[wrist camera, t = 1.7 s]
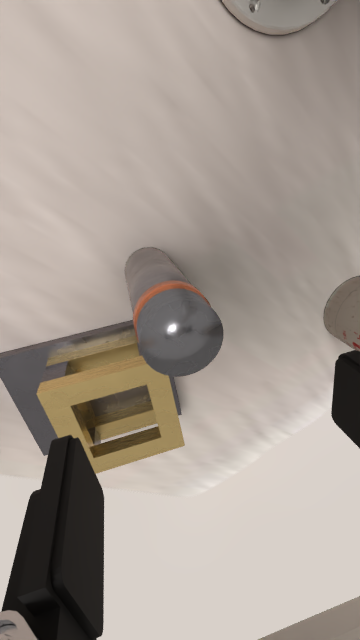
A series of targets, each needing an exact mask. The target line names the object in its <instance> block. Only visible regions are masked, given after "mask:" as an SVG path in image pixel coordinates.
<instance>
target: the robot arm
mask: <svg viewBox="0 0 360 640" xmlns="http://www.w3.org/2000/svg"><path fill="white" fill-rule="evenodd" d="M336 1H337V0H222V2H223V3H224V5H225V6H226V7H227V9H228V10H229V11H230V12H231V13H232V14H233V15H234V16H235V17H236V18H237V19H239V20H240V21H241V22H242V23H244V24H245V25H247V26H249V27H250V28H252V29H254V30H256V31H259V32H263V33H266V34H270V35H284V34H288V33H292V32H296V31H299V30H301V29H302V28H304V27H306V26H308V25H310V24H311V23H313V22H314V21H315V20H317V19H318V18H319V17H320V16H322V15H323V14H324V13H326V12H327V10H328V9H329V8H330V7H331V6H332V5H333V4H334V3H335V2H336ZM249 7H250V8H251V9H252V12H251V10H250V8H249ZM332 418H333V420H334V422H335V423H336V425H338V427H339V428H341V430H342V431H343V432H344V433H345V434H346V435H347V436H348V437H349V438H350V439H351V440H352V441H353V442H354V443H355V444H356V445H357V446H358V447H359V448H360V351H358V350H354V351H351V352H347V353H344V354H341V355H340V356H339V358H338V360H337V361H336V363H335V376H334V388H333V401H332ZM103 575H104V495H103V490H102V488H101V485H100V483H99V481H98V479H97V477H96V474H95V472H94V470H93V468H92V465H91V463H90V461H89V459H88V457H87V454H86V452H85V450H84V448H83V445H82V443H81V441H80V439H79V438H78V437H77V438H73V436H72V435H67V436H64V437H61V438H57V439H54V440H52V441H51V444H50V449H49V453H48V458H47V463H46V467H45V472H44V477H43V481H42V486H41V489H40V490H36V491H34V492H33V493H32V494H31V496H30V499H29V502H28V506H27V510H26V514H25V518H24V522H23V526H22V530H21V534H20V538H19V543H18V546H17V550H16V555H15V559H14V563H13V567H12V571H11V575H10V579H9V583H8V587H7V591H6V595H5V599H4V603H3V607H2V611H1V612H0V640H96V638H97V637H100V636H101V635H102V632H103V589H104V588H103V587H104V585H103V582H104V581H103V580H104V576H103ZM259 640H360V596H359V597H357V598H354V599H352V600H350V601H347V602H345V603H343V604H340V605H338V606H336V607H333V608H331V609H329V610H326V611H324V612H321V613H319V614H317V615H314V616H312V617H310V618H307V619H305V620H303V621H300V622H298V623H295V624H293V625H291V626H289V627H286V628H284V629H281V630H279V631H277V632H275V633H272V634H270V635H268V636H265V637H263V638H261V639H259Z"/></svg>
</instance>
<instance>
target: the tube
mask: <svg viewBox="0 0 360 640" xmlns="http://www.w3.org/2000/svg"><path fill="white" fill-rule="evenodd" d="M125 277H126V281H127V286H128V291H129V296H130V301H131V306H132V311H133V323H134V329H135V334H136V337H137V340H138V342H139V345H140V349H141V353H142V356H143V358H144V360H145V361H146V363H147V364H148V365H149V366H150V367H151V368H152V369H154V370H155V371H157V372H159V373H161V374H164V375H168V376H186V375H190V374H193V373H195V372H197V371H200V370H201V369H203V368H204V367H206V366H207V365H208V364H209V363H210V362H211V361H212V360H213V359H214V358H215V357H216V355H217V354H218V352H219V350H220V348H221V345H222V341H223V327H222V323H221V320H220V318H219V317H218V315H217V314H216V313H215V311H214V310H213V309H212V308H211V306H210V304H209V302H208V301H207V299H206V298H205V297H204V296H203V295H202V294H201V292H200V291H199V290H198V289H196V288H195V287H194V286H192V285H191V283H190V282H189V281H188V280H187V279H186V278H185V276H184V275H183V274H182V273H181V272H180V271H179V269H178V268H177V267H176V266H175V265H174V264H173V262H172V261H171V260H170V259H169V258H168V257H167V255H166V254H165V253H163V252H162V251H160V250H158V249H156V248H150V247H147V248H142V249H139V250H137V251H135V252H134V253H133V254H132V255H131V256H130V257H129V259H128V260H127V262H126V266H125Z"/></svg>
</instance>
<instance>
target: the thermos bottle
mask: <svg viewBox="0 0 360 640" xmlns="http://www.w3.org/2000/svg"><path fill="white" fill-rule="evenodd" d="M324 323H325V326H326V328H327V330H328V331H329V332H330V333H331V334H332V335H334V336H335V337H337V338H338V339H340V340H341V341H343V342H344V343H346V344H347V345H349V346H350V347H352V348H353V349H355V350H358V351H360V276H358V277H354V278H352V279H350V280H348V281H346V282H344V283H343V284H342V285H340V286H339V287H338V288H337V289H336V290H335V292H334V293H333V294H332V295H331V297H330V299H329V300H328V302H327V305H326V307H325V312H324Z"/></svg>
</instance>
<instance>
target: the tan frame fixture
mask: <svg viewBox="0 0 360 640" xmlns="http://www.w3.org/2000/svg"><path fill="white" fill-rule="evenodd" d="M0 378H1V379H2V381H3V383H4V385H5V387H6V388H7V390H8V392H9V394H10V396H11V397H12V399H13V401H14V403H15V404H16V406H17V408H18V410H19V412H20V413H21V415H22V417H23V419H24V421H25V422H26V424H27V426H28V428H29V430H30V431H31V433H32V435H33V437H34V439H35V440H36V442H37V444H38V446H39V448H40V449H41V451H42V453H43V455H44V456H45V455H48V453H49V449H50V444H51V441H52V440H54V439H57V438H61V437H64V436H67V435H72V436H73V438H77V437H78V438H79V439H80V441H81V443H82V445H83V448H84V450H85V452H86V454H87V457H88V459H89V461H90V463H91V465H92V468H93V470H94V472H95V474H96V473H99V472H102V471H106V470H109V469H112V468H115V467H118V466H122V465H125V464H128V463H131V462H134V461H137V460H141V459H144V458H147V457H150V456H153V455H157V454H160V453H163V452H166V451H169V450H172V449H176V448H179V447H182V446H185V444H184V440H183V436H182V431H181V427H180V423H179V418H178V415H181V409H180V405H179V400H178V396H177V392H176V387H175V383H174V378H173V376H168V375H164V374H161V373H159V372H157V371H155V370H154V369H152V368H151V367H150V366H149V365H148V364H147V363H146V361H145V360H144V358H143V356H142V353H141V349H140V345H139V342H138V340H137V337H136V334H135V329H134V323H133V320H131V321H127V322H123V323H119V324H115V325H111V326H107V327H103V328H99V329H95V330H91V331H87V332H83V333H79V334H75V335H71V336H67V337H63V338H59V339H55V340H52V341H48V342H44V343H40V344H36V345H32V346H28V347H24V348H20V349H16V350H12V351H8V352H4V353H0ZM156 423H158V427H154V428H151V429H148V430H144V431H141V432H138V433H134V434H131V435H128V436H125V437H121V438H118V439H115V440H111V441H108V442H105V443H101V440H103V439H106V438H110V437H113V436H116V435H120V434H123V433H126V432H130V431H133V430H136V429H140V428H143V427H146V426H149V425H153V424H156Z"/></svg>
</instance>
